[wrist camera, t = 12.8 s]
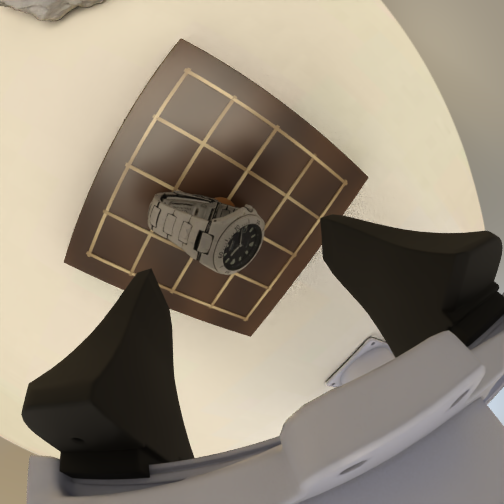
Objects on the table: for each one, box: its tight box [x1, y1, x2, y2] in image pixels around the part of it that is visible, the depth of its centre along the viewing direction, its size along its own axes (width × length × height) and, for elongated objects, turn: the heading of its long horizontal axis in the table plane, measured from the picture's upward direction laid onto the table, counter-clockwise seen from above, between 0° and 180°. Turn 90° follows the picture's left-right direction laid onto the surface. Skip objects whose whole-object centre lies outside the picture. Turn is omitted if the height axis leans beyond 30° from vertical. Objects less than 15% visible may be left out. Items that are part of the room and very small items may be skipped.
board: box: [64, 39, 368, 336], centre depth 17 cm, size 15×15×1 cm
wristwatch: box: [148, 190, 265, 275], centre depth 14 cm, size 4×6×5 cm, turn 69°
